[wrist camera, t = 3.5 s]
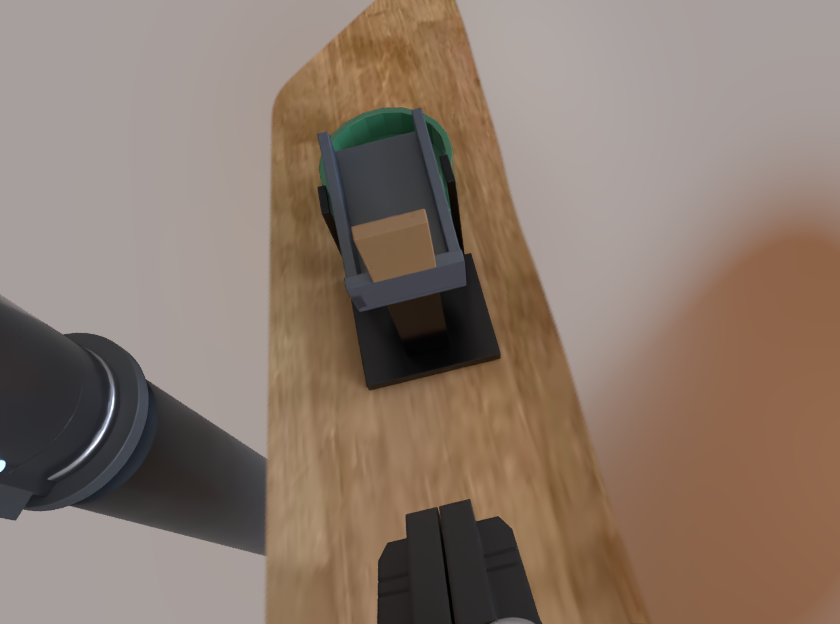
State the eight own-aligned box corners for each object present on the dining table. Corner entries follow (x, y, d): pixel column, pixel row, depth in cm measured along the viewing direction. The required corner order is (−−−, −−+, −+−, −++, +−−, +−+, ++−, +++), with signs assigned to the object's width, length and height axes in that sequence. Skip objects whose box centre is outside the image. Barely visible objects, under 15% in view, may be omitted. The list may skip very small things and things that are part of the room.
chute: (466, 285, 34) (461, 214, 26) (359, 312, 34) (320, 249, 26) (425, 133, 37) (409, 27, 29) (327, 157, 37) (284, 59, 29)
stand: (500, 358, 41) (498, 282, 32) (369, 390, 42) (328, 324, 32) (468, 247, 46) (457, 151, 36) (348, 276, 46) (307, 189, 36)
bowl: (429, 268, 45) (420, 230, 41) (316, 233, 48) (296, 194, 43) (475, 168, 49) (472, 123, 44) (367, 141, 51) (354, 95, 47)
